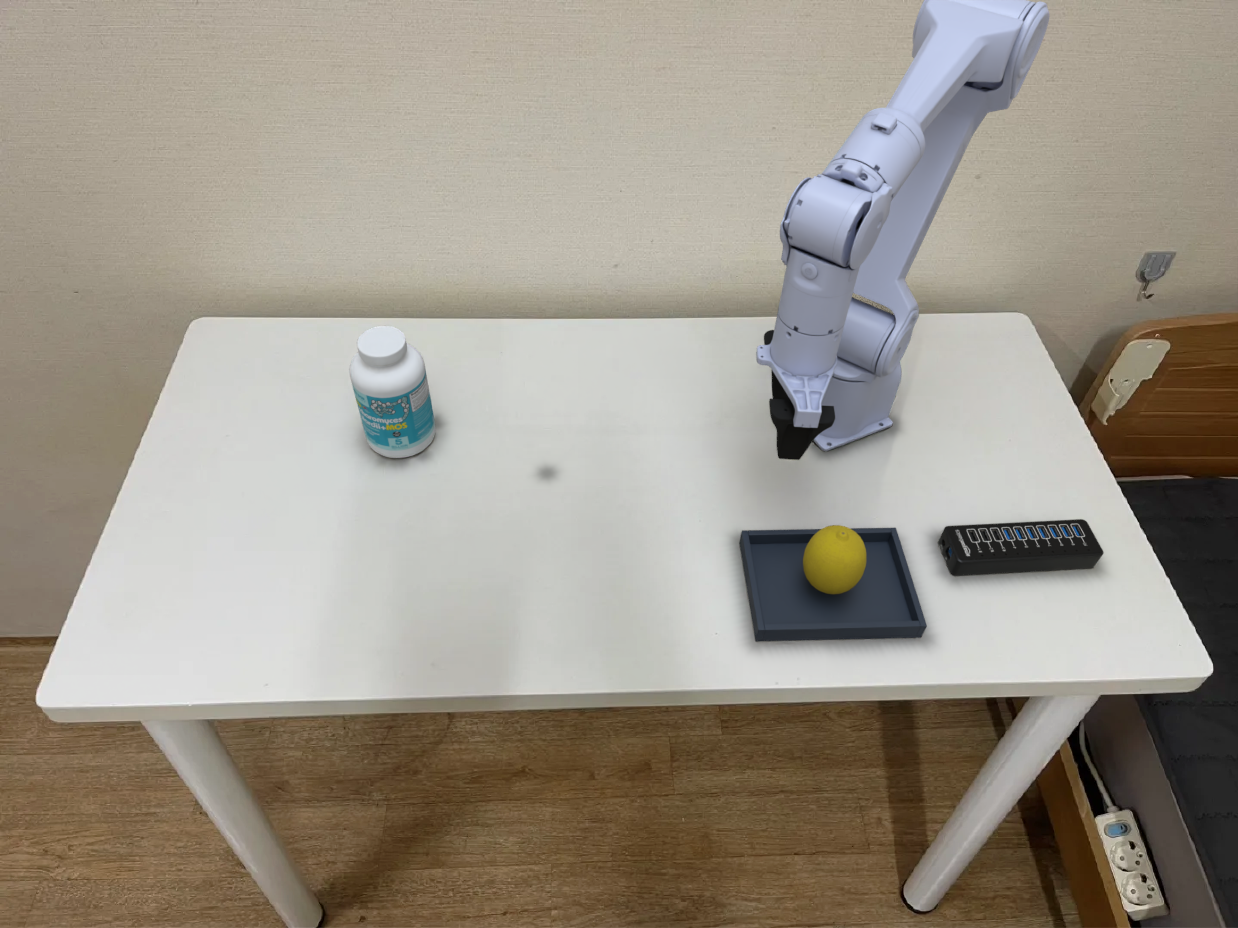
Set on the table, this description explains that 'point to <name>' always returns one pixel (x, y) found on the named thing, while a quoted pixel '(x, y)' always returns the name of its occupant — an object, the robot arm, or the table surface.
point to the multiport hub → (1019, 547)
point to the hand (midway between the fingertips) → (786, 427)
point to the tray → (809, 614)
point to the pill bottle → (392, 393)
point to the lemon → (834, 559)
